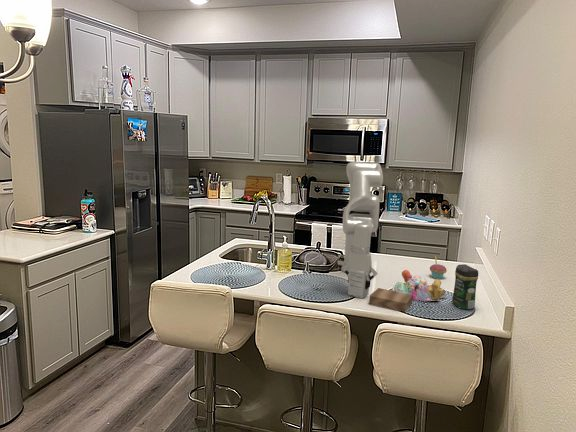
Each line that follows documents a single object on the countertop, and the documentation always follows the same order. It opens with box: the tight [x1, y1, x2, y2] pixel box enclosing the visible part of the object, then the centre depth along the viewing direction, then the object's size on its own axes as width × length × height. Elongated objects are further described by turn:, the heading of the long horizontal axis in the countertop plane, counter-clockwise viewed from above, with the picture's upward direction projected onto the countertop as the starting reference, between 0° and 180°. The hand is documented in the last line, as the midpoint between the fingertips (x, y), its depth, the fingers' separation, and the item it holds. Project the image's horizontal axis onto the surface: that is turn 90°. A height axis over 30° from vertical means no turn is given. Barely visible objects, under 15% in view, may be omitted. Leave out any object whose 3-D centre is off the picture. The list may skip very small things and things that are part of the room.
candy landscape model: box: [391, 269, 447, 302], centre depth 210 cm, size 25×24×9 cm
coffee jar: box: [451, 263, 479, 310], centre depth 195 cm, size 10×8×19 cm
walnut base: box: [368, 287, 414, 313], centre depth 196 cm, size 16×12×4 cm
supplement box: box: [347, 269, 370, 299], centre depth 205 cm, size 7×7×13 cm
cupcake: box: [429, 255, 448, 280], centre depth 235 cm, size 9×8×12 cm
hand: (358, 286), depth 205 cm, fingers closed on supplement box, 7 cm apart
